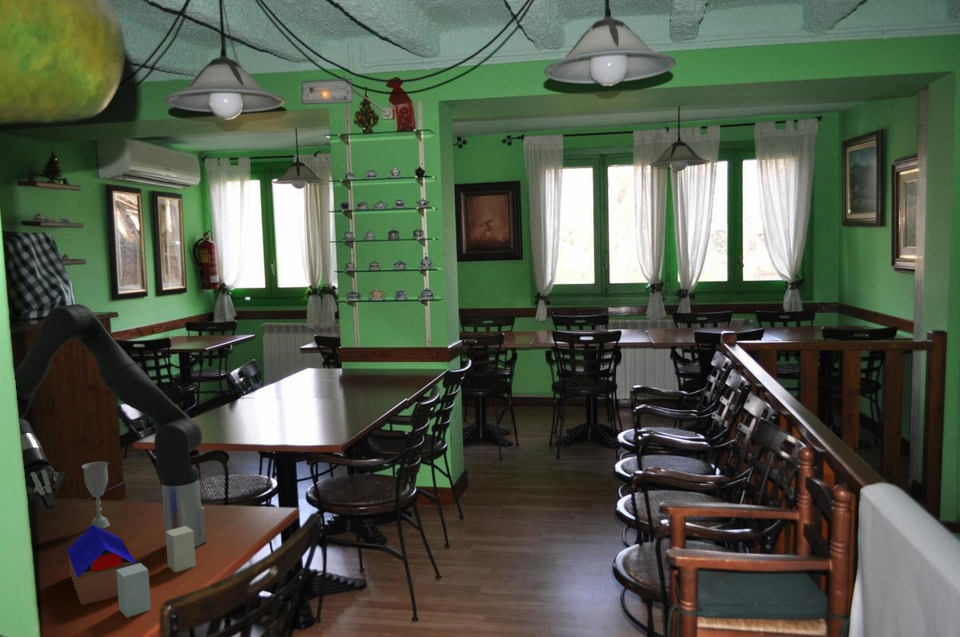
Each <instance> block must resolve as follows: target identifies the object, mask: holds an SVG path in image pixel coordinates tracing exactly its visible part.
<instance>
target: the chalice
mask: <svg viewBox="0 0 960 637" xmlns="http://www.w3.org/2000/svg"><path fill="white" fill-rule="evenodd" d="M109 464H110V463H109V462H108V461H94V462H92V461H91V462H89V463H85V464H82V466H81V468H82V469H83V476H84V484H85V486H86V489H87V490H88V491H89V494H90V495H91V496H92V497H94V498H95V500H96V501H95V504H94V505H96V509H95V512H96V513H97V515H96V517H95V518H93V520H92V523H91V526H92V525H95V526H97V527H99V528H101V529H104V528H107V527H110V525H111V524H110V522H109V520H108V518H107V517H106V516H103V515H102V510H103V508H102V507H101V504H102V502H101V499H100V498H101V496H103V495H104V493H105V491H106V489H107V485H108V482H109V473H108V466H109ZM91 526H90V527H91Z"/></svg>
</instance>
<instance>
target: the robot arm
mask: <svg viewBox="0 0 960 637" xmlns="http://www.w3.org/2000/svg"><path fill="white" fill-rule="evenodd" d="M33 340H34V341H33V342H32V344H31V347H30V348H29V350H28V352H27V354H26V356H25V357H24V358H23V360H22V361H21V363H20V364H19V365H18V367H17V368H16V370H15V371H14V372H15V380H16V390H17V400H18V410H19V421H20V430H21V439H22V449H23V460H24V469H25V478H26V487H27V494H28V499H27V500H29V501H34V500H38V501H39V504H40V506H41V507H42V509H43V510H44V511H46V512H50V511H53V510H54V509H55V507H56V505H57V502H56V499H55V497H54V496H55V495H56V494H57V492H58V490H59V488H60V486H61V483H62V481H63V479H64V476H65V474H66V472H65V471H63V470H62V471H60V472H58V471H55V469H54V468H53V467H51V465H50V463H49V460H48V458H47V456H46V454H45V451H44V450H43V447H42V446H41V445H42V444H41V443H40V441H39V439H38V438H37V437H36V435H35V433H34V430H33V428H32V426H31V424H30V423H29V422H28V420H26V419H24V417H25V416H26V415H27V414H28V412H29V409H30V406H31V404H32V400H33V398H34V395H35V393H36V391H37V390H38V388H40V386H41V385H42V383H43V382H44V380H45V379H46V378H47V376H48V374H49V371H50V368H51V362H52V358H53V356H54V354H55V353H56V352H57V351H58V349H59V348H61V347H62V345H64V344H65V343H66V342H67V341H73V340H74V341H75V340H79V342H81V344H83V345H84V346H85V347H86V348H87V350H89V352H90V353H91V354H92V356H93V357H94V360H95V362H96V367H97V370H98V373H99V376H100V379H101V380H102V383H103V384H104V385H105V386H106V387H107V388H108V389H109V391H111V393H112V394H113V395H114V396H115V397H116V398H117V399H118V400H119V401H121V402H122V403H123V404H125V405H127V406H129V407H130V408H132V409H134V410H136V411H138V412H140V413H142V414H143V415H146V416H147V417H149V418H150V419H151V420H152V421H154V423H156V425H158V427H159V429H158V430H157V431H156V433H155V436H154V454H155V460H156V461H155V463H156V468H157V470H156V471H157V473H158V475H159V477H160V479H161V480H160V482H161V494H162V506H163V508H162V509H163V520H164V522H163V523H164V534H165V537H166V531H169V530H172V529H176V528H180V527H184V526H187V527H188V528H190V529H191V530H193V531H194V545H195V548H197V547H199V546H201V545H202V544H204V543H207V534H206V533H207V532H206V520H205V519H206V518H205V508H204V506H202V503H201V502H202V500H201V499H202V498H201V486H200V484H201V483H200V472H199V469H198V468H197V467H196V466H193V465H192V464H191V456H190V453H191V452H193V451H195V450H196V449H197V448H199V446H200V445H201V443H202V439H203V438H202V437H203V434H202V431H201V430H202V429H200V427H199V425H198V424H197V423H196V421H194V420H193V419H192V418H191V417H190V416H189V415H188V414H187V413H185V412H184V411H183V410H182V409H181V408H180V407H178V406H177V404H175V403H174V402H173V401H172V400H171V399H170V398H169V397H168V396H167V395H166V393H164V392H163V391H162V389H160V387H158V385H157V384H156V383H155V382H154V381H153V380H152V379H151V378H150V377H149V376H148V374H147V373H146V372H145V371H144V370H143V369H142V368H141V367H140V365H139V364H138V363H136V361H134V359H132V358H131V357H130V355H129V354H128V353H127V352H126V351H125V350H124V348H122V346H120V345H119V343H118V342H117V340H115V339H114V338H113V337H112V335H111V334H110V333H109V331H108V330H107V329H106V327H105V326H104V325H103V323H102V322H101V320H100V319H99V318H98V317H97V316H96V314H95V313H94V312H93V311H92V310H91V309H90V308H89V307H88V306H86V305H84V304H79V303H78V304H77V303H75V304H66V305H60V306H56V307H54V308H52V309H51V310H50V311H49V312H48V313H47V314H46V316H45V318H44V320H43V322H42V324H41V326H40V328H39V331H38V332H37V334H36V337H35V338H34V339H33ZM52 477H53V481H54V484H53V487H51V482H52V481H51V480H52ZM165 548H166V549H167V546H166V545H165Z"/></svg>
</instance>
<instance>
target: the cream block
mask: <svg viewBox="0 0 960 637" xmlns="http://www.w3.org/2000/svg"><path fill="white" fill-rule="evenodd" d="M166 546H167V548H166V557H167V558H166V559H167V567H168V568H169V569H170V570H171V571H173V572H174V573H175V572H176V573H178V572H182V571H185V569H186V570H189V569H192V568H195V567H196V566H197V564H196V562H197V561H196V549H195V548H196V547H195V545H194V531H193V530H191V529H190V528H188V527H187V526H184V527H180V528H176V529H172V530H169V531H166V536H165V547H166ZM194 566H195V567H194ZM191 567H192V568H191ZM188 568H189V569H188Z"/></svg>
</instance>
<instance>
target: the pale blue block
mask: <svg viewBox="0 0 960 637" xmlns="http://www.w3.org/2000/svg"><path fill="white" fill-rule="evenodd" d="M116 572H117V585H118V596H117V597H118V608H119V612H121V613H122V614H123V615H124V617H126V618H130V617H134V616H136V615H139V614H142V613H145V612H149V611H152V604H151V603H152V602H151V592H150V578H149V575H150V574H149V569H148V568H147V567H146V566H145V565H143V564H142V563H141V562H139V563H136V564H135V565H132V566H128V567H125V568H121V569H118V570H116Z"/></svg>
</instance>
